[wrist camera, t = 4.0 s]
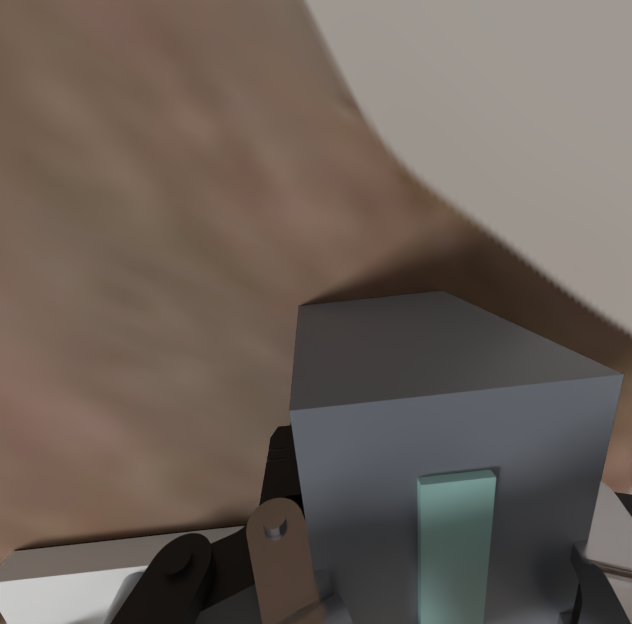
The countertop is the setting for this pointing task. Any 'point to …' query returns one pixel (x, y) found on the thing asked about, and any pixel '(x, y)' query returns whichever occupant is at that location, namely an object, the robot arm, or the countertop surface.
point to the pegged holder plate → (79, 578)
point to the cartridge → (445, 459)
